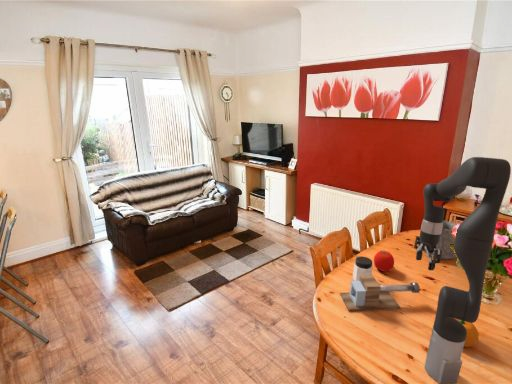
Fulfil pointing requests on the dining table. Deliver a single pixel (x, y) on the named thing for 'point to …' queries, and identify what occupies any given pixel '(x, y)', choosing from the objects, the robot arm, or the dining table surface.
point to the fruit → (470, 333)
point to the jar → (362, 267)
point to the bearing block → (371, 297)
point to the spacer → (357, 293)
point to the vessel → (446, 240)
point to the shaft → (401, 288)
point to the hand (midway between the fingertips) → (424, 264)
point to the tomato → (383, 261)
